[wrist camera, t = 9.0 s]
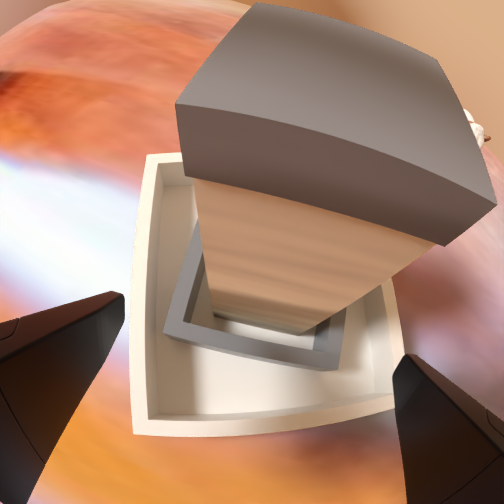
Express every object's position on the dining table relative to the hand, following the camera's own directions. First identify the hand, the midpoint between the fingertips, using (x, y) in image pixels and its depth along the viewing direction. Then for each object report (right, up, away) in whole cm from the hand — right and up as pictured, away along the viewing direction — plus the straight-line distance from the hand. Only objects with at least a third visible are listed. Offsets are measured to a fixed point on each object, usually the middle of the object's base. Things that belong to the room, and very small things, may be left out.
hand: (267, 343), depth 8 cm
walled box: (0, 0, +10) cm, 10 cm away
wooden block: (0, +1, +9) cm, 9 cm away
